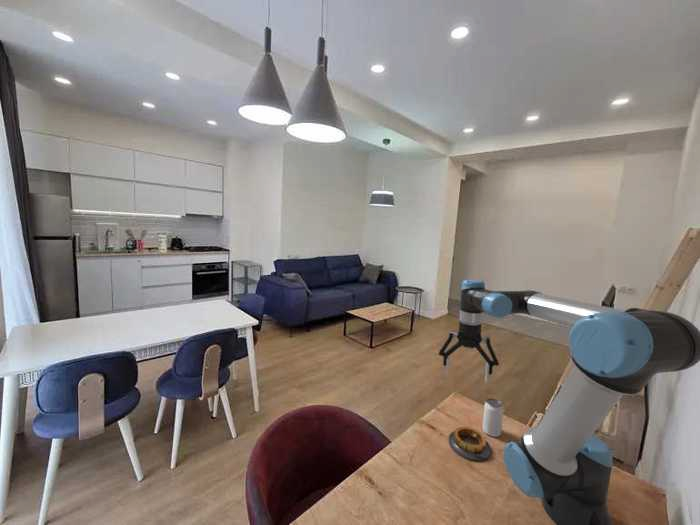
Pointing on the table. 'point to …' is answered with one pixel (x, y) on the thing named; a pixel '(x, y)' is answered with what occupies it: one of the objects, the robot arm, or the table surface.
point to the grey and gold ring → (469, 444)
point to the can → (492, 417)
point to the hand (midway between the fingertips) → (466, 377)
